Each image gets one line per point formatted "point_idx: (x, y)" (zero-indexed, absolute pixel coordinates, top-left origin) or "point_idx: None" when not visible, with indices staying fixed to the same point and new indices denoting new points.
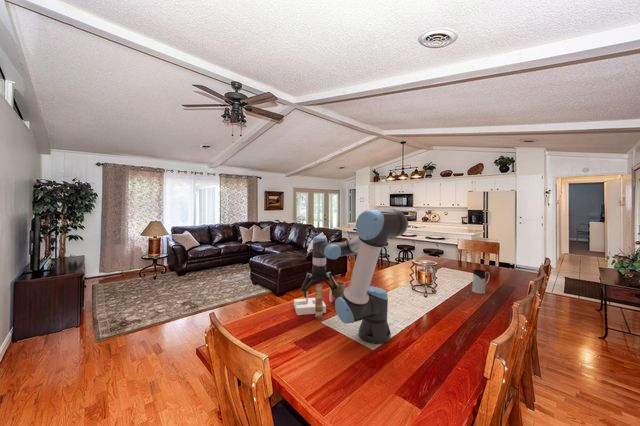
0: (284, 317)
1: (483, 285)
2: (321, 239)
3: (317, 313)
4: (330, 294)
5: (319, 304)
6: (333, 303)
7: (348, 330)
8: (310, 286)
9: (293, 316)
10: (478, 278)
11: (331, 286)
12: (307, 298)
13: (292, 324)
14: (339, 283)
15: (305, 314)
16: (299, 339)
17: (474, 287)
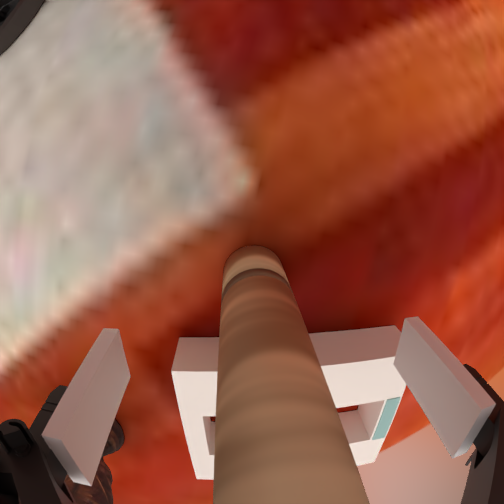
0: (462, 303)
1: None
2: None
3: (276, 266)
4: (87, 397)
5: (268, 305)
6: (118, 428)
7: (84, 30)
8: (492, 492)
9: (419, 311)
10: None
11: (25, 495)
12: (440, 352)
13: (454, 199)
14: None
15: (340, 331)
16: (435, 7)
17: None
